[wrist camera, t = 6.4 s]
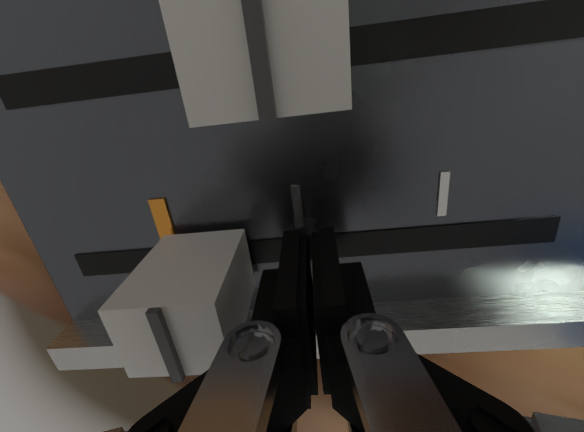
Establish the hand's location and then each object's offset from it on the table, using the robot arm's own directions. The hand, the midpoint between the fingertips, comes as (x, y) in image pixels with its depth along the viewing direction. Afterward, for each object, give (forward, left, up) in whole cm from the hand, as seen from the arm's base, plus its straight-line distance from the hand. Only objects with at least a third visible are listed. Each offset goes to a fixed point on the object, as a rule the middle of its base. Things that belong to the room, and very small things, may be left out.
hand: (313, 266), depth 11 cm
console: (0, -3, -3) cm, 4 cm away
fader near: (0, -7, -1) cm, 7 cm away
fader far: (+4, 0, -1) cm, 4 cm away
